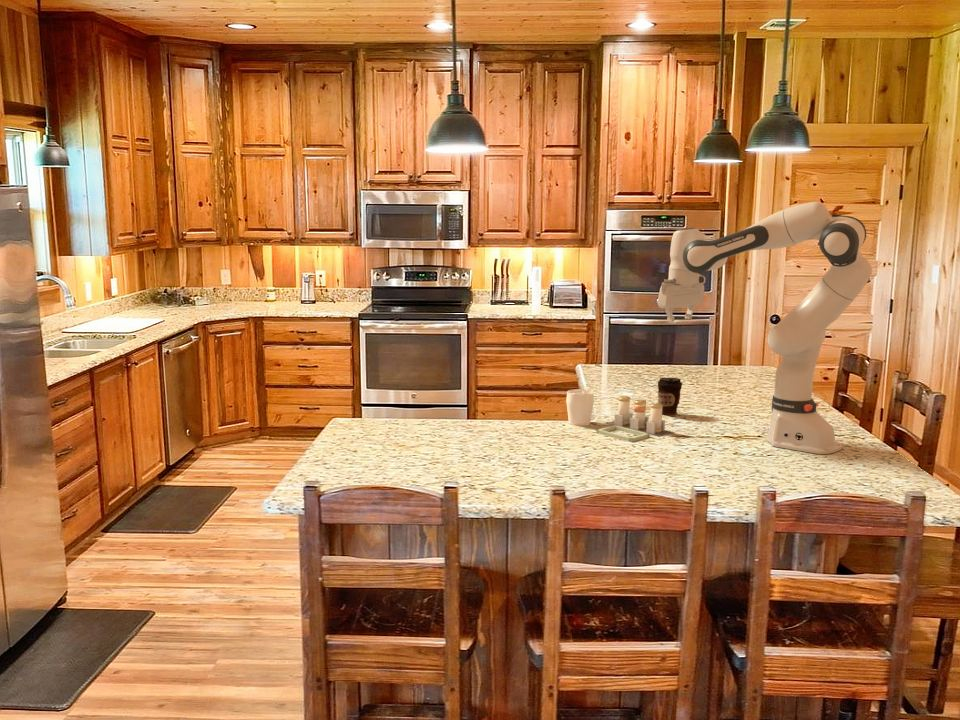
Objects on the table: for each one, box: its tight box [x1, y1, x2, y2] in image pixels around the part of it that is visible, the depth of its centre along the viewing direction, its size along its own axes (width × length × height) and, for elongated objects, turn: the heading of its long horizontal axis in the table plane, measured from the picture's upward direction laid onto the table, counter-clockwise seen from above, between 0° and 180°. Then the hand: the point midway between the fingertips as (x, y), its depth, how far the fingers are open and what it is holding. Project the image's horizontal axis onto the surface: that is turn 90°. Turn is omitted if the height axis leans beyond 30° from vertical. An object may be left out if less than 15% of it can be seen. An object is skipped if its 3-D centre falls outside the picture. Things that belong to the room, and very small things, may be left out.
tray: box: [596, 425, 650, 443], centre depth 271 cm, size 14×9×2 cm, turn 42°
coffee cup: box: [657, 377, 683, 417], centre depth 303 cm, size 9×8×13 cm
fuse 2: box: [649, 402, 663, 433], centre depth 274 cm, size 4×4×9 cm
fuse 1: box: [617, 395, 631, 425], centre depth 284 cm, size 4×4×9 cm
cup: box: [565, 388, 595, 427], centre depth 285 cm, size 9×9×12 cm
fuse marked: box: [633, 399, 647, 429], centre depth 279 cm, size 4×4×9 cm
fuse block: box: [605, 411, 675, 438], centre depth 280 cm, size 22×8×5 cm, turn 42°
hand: (679, 320), depth 280 cm, fingers open, 8 cm apart
